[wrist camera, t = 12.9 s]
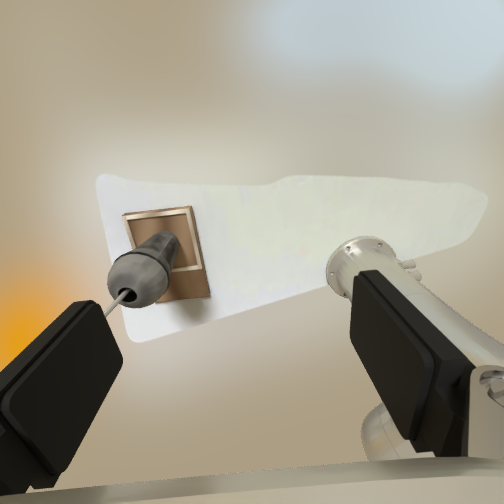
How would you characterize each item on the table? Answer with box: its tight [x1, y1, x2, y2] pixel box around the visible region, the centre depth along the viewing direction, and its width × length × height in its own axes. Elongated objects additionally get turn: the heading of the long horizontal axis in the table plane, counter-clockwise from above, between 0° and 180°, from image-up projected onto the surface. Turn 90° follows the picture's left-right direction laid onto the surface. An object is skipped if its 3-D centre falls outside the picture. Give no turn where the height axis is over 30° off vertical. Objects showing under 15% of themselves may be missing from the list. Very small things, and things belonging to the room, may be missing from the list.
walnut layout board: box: [122, 206, 210, 302], centre depth 44 cm, size 11×17×2 cm, turn 6°
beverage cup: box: [103, 231, 180, 318], centre depth 33 cm, size 7×7×20 cm
